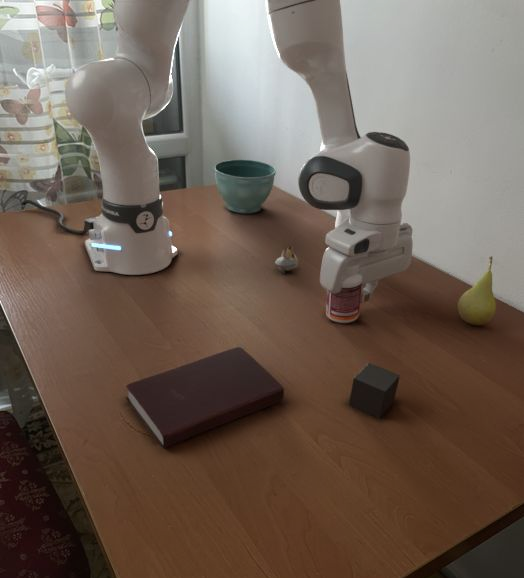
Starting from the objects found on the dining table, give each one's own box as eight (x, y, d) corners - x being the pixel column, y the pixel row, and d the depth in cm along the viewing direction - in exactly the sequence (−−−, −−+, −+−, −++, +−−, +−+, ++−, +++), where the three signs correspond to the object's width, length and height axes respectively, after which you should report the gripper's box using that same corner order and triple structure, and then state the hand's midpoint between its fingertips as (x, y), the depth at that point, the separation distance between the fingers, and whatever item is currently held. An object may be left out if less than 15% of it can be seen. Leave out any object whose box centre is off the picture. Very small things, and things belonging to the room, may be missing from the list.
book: (284, 403, 80) (285, 385, 79) (164, 452, 71) (162, 433, 69) (238, 361, 89) (238, 344, 87) (125, 400, 79) (123, 382, 77)
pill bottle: (365, 317, 102) (371, 264, 95) (339, 328, 99) (343, 273, 93) (344, 303, 106) (348, 251, 99) (319, 312, 103) (321, 260, 97)
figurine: (278, 275, 116) (280, 249, 112) (271, 267, 119) (273, 241, 116) (301, 273, 117) (303, 247, 114) (293, 264, 121) (296, 239, 117)
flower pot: (285, 209, 150) (288, 169, 144) (243, 223, 140) (245, 181, 134) (244, 194, 159) (245, 156, 153) (202, 206, 149) (201, 166, 143)
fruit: (452, 326, 102) (468, 267, 95) (455, 308, 107) (471, 251, 101) (489, 334, 100) (509, 275, 93) (491, 316, 106) (509, 258, 99)
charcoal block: (348, 404, 81) (353, 377, 78) (364, 388, 84) (369, 362, 82) (379, 418, 79) (385, 391, 76) (393, 401, 82) (400, 375, 79)
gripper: (400, 215, 104) (388, 281, 111) (318, 236, 94) (311, 307, 101) (426, 226, 99) (412, 293, 107) (343, 249, 89) (334, 322, 97)
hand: (362, 300), depth 104 cm, fingers closed
